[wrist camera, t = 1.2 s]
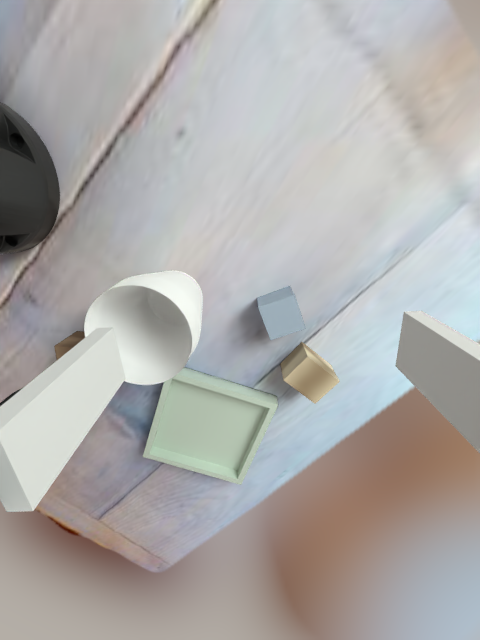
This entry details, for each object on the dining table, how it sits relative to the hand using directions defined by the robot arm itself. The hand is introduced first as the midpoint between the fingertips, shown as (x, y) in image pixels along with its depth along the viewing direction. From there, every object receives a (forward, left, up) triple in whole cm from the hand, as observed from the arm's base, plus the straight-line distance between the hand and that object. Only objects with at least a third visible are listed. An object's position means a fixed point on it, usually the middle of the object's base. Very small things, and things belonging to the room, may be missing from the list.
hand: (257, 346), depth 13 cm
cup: (-8, -6, -21) cm, 23 cm away
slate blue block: (+4, -3, -21) cm, 21 cm away
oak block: (+10, -9, -21) cm, 25 cm away
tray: (+1, -22, -21) cm, 30 cm away
